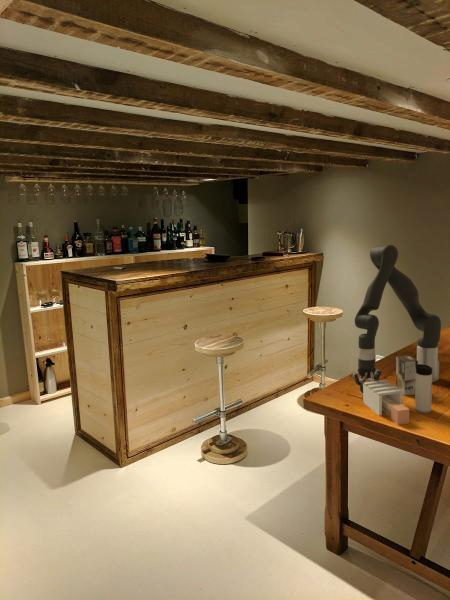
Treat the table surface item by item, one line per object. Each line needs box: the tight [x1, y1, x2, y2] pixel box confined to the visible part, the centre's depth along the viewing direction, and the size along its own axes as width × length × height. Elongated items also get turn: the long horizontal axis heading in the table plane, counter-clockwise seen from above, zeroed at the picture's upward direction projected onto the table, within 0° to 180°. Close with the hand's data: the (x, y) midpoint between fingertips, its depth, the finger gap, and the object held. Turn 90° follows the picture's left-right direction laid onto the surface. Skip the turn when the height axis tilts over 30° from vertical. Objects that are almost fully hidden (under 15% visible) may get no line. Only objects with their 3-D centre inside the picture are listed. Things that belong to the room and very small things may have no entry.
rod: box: [359, 391, 397, 417], centre depth 198 cm, size 4×26×4 cm, turn 11°
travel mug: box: [414, 364, 433, 414], centre depth 187 cm, size 6×7×20 cm
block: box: [390, 403, 410, 426], centre depth 181 cm, size 5×5×6 cm
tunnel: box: [362, 379, 403, 416], centre depth 194 cm, size 10×14×10 cm
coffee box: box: [395, 354, 418, 396], centre depth 208 cm, size 9×6×16 cm
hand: (366, 392), depth 208 cm, fingers closed on rod, 3 cm apart
